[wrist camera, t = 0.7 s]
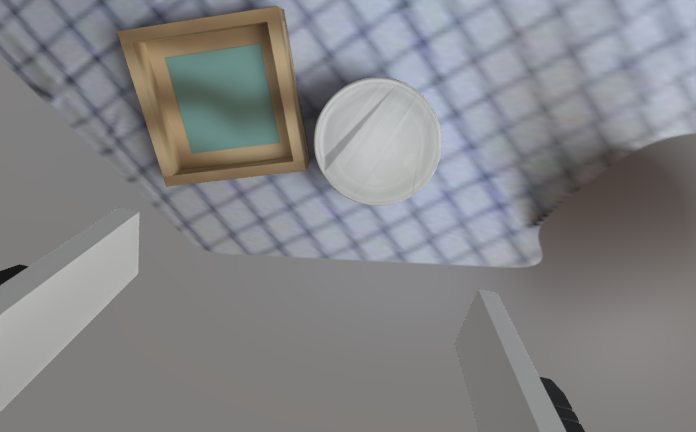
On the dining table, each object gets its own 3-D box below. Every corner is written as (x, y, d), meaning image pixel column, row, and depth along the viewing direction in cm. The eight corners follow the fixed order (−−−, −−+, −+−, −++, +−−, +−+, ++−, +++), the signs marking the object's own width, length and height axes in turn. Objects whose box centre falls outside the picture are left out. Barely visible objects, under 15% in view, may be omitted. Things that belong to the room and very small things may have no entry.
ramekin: (327, 65, 37) (320, 67, 32) (445, 83, 37) (456, 88, 33) (314, 179, 42) (307, 196, 37) (420, 195, 42) (427, 214, 37)
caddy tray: (136, 32, 37) (117, 31, 34) (283, 9, 36) (276, 6, 33) (179, 177, 42) (166, 186, 39) (310, 162, 41) (305, 170, 38)
